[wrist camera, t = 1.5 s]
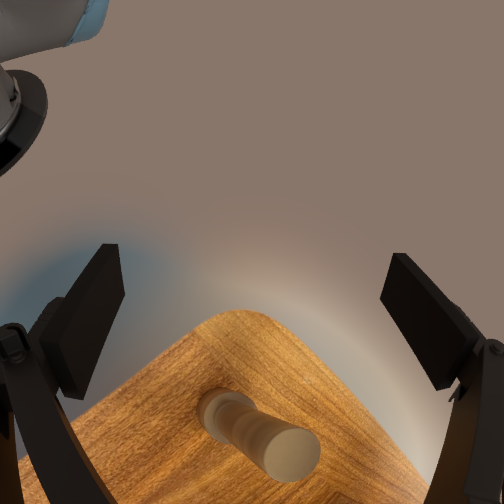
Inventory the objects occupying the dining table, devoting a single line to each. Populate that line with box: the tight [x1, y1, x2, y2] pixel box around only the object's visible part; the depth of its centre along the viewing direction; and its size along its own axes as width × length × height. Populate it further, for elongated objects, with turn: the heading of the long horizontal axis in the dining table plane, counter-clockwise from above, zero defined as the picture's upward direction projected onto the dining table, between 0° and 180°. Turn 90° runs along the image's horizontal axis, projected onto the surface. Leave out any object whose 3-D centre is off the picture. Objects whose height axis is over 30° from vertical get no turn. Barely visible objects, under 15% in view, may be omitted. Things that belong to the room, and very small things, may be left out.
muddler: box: [197, 388, 321, 483], centre depth 21 cm, size 5×5×16 cm
